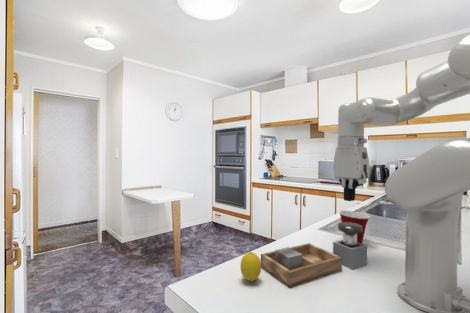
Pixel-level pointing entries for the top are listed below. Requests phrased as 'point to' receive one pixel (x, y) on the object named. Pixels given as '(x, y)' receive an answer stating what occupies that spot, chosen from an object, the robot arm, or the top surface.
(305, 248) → the caddy
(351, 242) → the plunger
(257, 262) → the lemon
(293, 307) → the top surface
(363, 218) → the plastic cup
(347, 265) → the mount
